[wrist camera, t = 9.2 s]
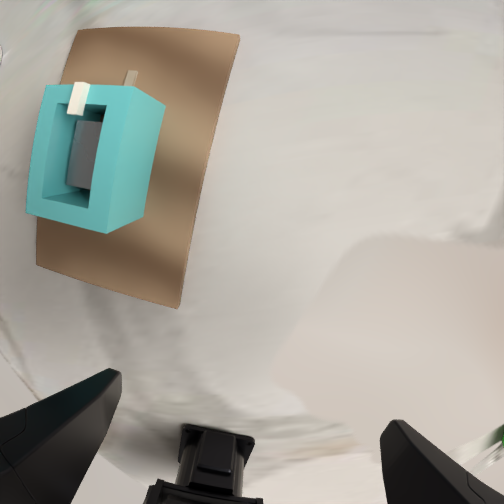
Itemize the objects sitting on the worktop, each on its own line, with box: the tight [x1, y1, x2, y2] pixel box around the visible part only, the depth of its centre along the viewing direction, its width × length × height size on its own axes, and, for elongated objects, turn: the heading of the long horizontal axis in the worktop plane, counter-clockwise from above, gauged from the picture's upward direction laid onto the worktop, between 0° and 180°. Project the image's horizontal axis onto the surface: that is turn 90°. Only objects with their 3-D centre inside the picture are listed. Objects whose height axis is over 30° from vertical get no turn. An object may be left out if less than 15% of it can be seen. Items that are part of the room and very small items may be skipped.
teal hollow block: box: [26, 82, 166, 234], centre depth 15 cm, size 7×6×6 cm
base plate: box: [36, 27, 240, 309], centre depth 18 cm, size 18×12×1 cm, turn 167°
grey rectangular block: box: [66, 120, 103, 190], centre depth 16 cm, size 4×2×4 cm, turn 167°
